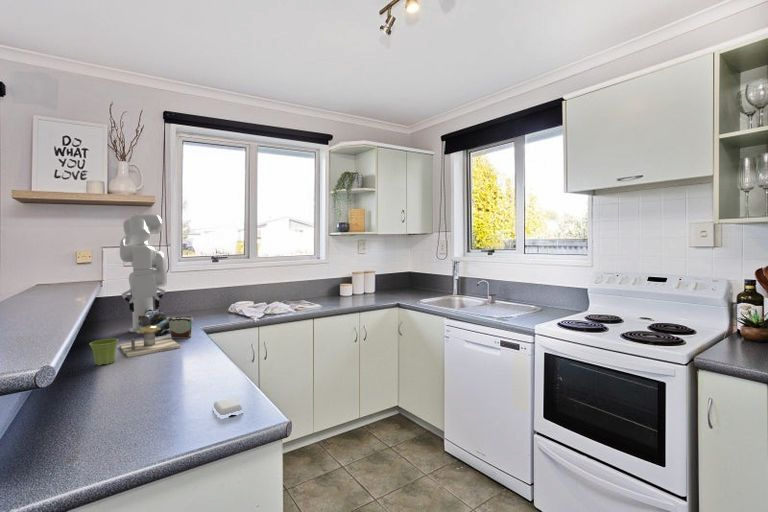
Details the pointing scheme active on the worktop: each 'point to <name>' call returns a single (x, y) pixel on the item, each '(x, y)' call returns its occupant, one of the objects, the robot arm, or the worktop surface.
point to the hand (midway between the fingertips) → (144, 310)
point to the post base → (149, 349)
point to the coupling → (147, 325)
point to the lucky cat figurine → (156, 321)
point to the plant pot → (104, 350)
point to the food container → (180, 326)
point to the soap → (227, 406)
